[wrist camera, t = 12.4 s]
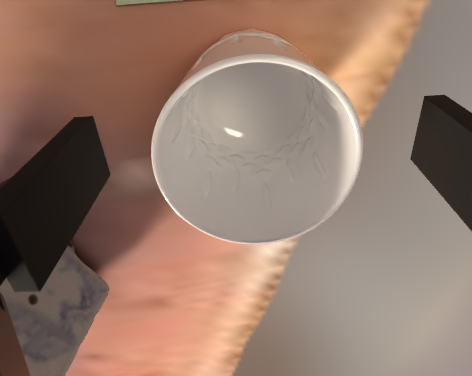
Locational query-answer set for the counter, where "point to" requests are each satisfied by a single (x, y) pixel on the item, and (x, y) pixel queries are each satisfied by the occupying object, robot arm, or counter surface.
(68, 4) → the counter surface
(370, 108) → the counter surface
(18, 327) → the incense holder
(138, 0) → the napkin
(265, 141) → the white cup
